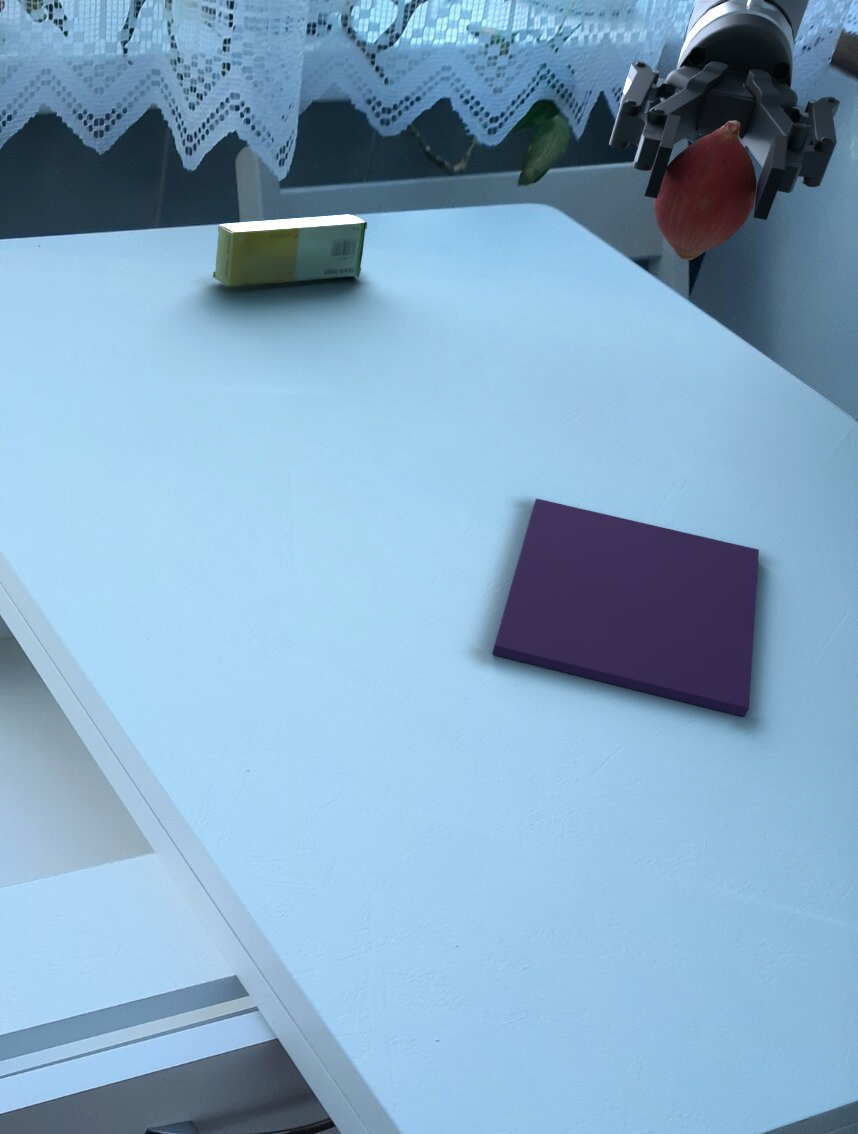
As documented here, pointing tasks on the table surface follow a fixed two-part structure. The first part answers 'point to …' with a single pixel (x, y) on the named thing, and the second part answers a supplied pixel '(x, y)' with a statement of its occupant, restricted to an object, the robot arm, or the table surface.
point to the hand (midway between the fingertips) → (713, 183)
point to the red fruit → (706, 193)
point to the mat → (633, 606)
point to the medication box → (289, 250)
